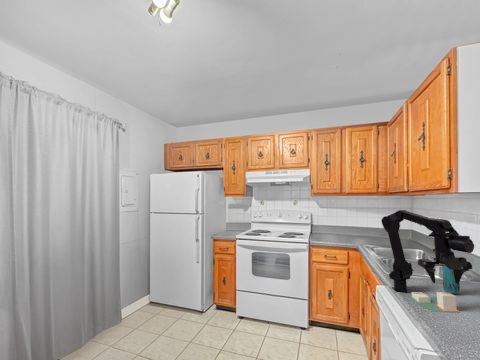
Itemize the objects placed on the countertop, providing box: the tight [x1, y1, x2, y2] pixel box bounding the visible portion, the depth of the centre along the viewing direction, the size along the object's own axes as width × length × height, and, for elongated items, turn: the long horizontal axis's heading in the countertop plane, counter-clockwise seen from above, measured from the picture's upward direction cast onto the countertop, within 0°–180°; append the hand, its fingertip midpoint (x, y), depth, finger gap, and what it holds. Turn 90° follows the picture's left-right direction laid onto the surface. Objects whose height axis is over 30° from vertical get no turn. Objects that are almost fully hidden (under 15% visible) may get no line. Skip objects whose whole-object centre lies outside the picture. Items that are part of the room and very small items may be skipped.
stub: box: [436, 291, 458, 310], centre depth 106 cm, size 4×5×6 cm
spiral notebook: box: [411, 291, 431, 303], centre depth 115 cm, size 6×5×2 cm
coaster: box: [435, 304, 461, 313], centre depth 106 cm, size 6×6×1 cm
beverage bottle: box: [441, 266, 461, 294], centre depth 122 cm, size 6×7×20 cm
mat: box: [407, 295, 461, 314], centre depth 111 cm, size 16×13×1 cm
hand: (445, 283), depth 107 cm, fingers open, 9 cm apart
